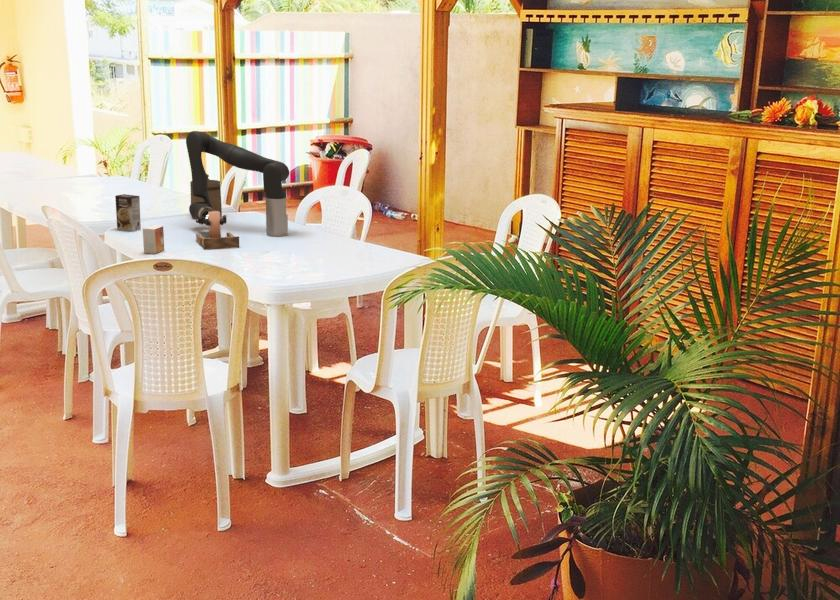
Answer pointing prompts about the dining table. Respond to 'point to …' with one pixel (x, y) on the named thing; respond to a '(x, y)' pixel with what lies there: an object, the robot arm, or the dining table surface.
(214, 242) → the keyhole track
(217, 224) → the salmon orange cylinder
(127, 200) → the coffee box
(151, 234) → the small box
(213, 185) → the wooden container
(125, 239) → the dining table surface
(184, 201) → the dining table surface
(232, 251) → the dining table surface
